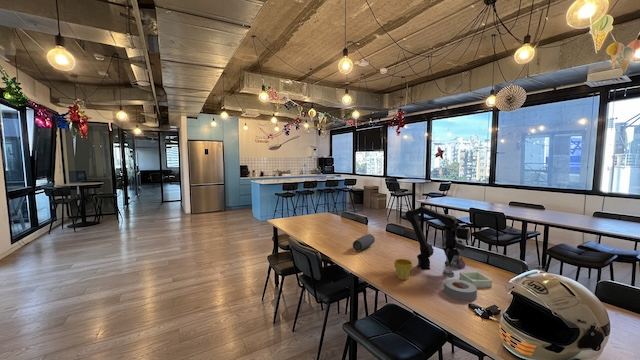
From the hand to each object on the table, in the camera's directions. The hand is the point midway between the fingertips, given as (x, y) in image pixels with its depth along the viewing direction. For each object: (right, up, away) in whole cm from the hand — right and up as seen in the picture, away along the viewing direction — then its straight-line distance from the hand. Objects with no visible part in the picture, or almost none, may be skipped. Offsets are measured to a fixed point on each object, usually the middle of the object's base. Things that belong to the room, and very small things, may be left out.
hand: (449, 261), depth 165 cm
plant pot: (-30, -9, -4) cm, 31 cm away
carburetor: (+12, -8, +15) cm, 21 cm away
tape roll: (-5, -11, -23) cm, 26 cm away
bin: (+10, -9, -10) cm, 17 cm away
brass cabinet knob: (0, -2, 0) cm, 2 cm away
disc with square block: (0, -8, +1) cm, 8 cm away
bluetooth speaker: (-45, -5, +48) cm, 66 cm away
